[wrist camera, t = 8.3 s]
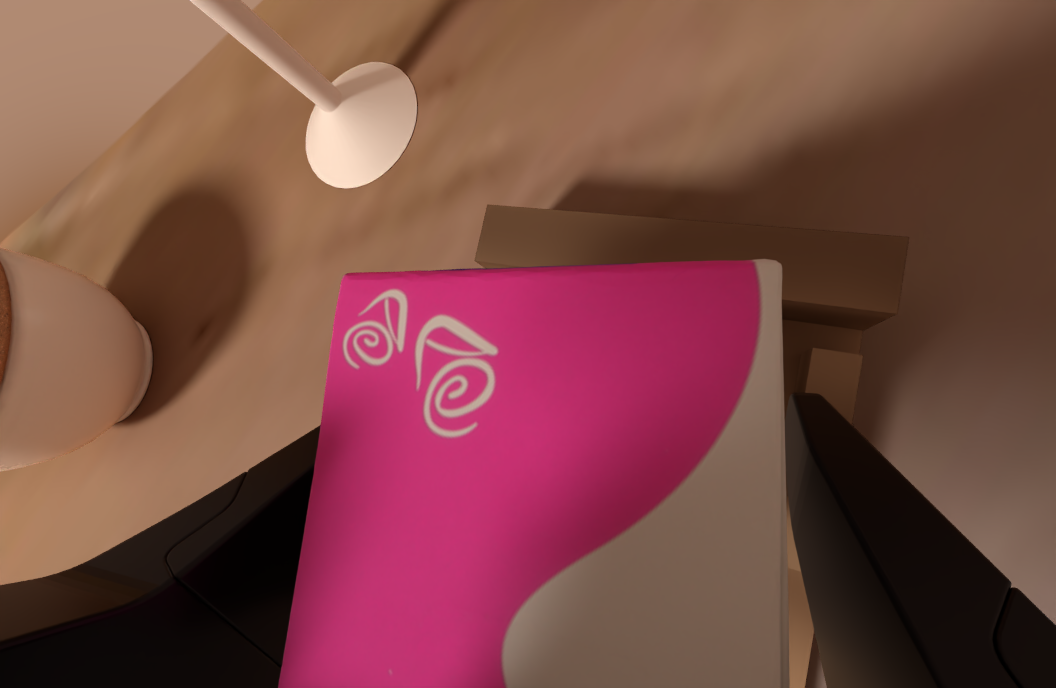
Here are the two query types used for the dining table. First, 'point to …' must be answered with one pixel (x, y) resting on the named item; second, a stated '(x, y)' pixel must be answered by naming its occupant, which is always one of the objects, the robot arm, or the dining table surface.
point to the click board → (807, 304)
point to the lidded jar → (63, 360)
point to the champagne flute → (333, 102)
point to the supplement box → (549, 482)
